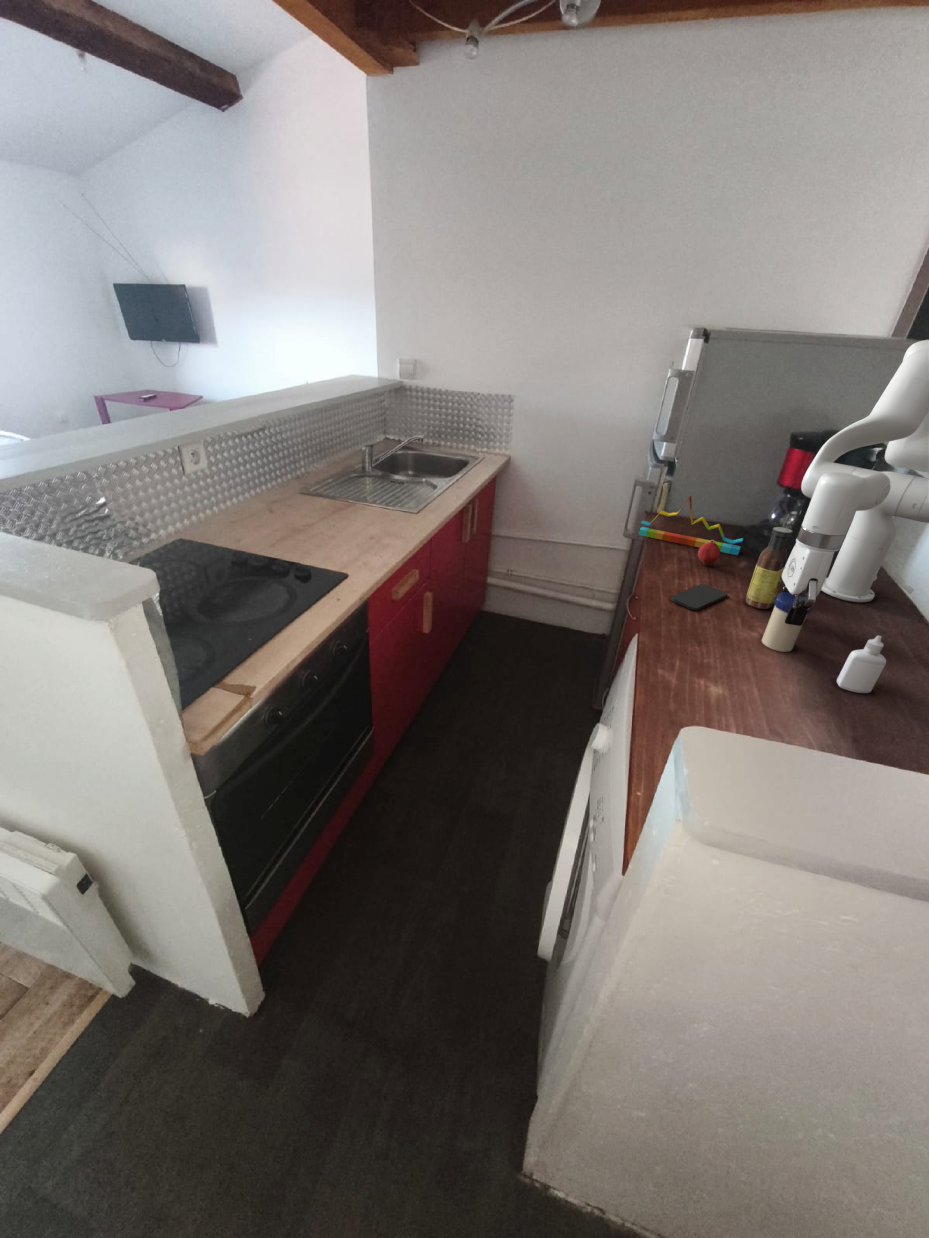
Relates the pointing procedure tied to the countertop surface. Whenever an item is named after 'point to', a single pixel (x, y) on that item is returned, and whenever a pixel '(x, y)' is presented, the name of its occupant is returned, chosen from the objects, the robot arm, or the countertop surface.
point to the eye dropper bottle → (863, 667)
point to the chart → (687, 539)
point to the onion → (709, 552)
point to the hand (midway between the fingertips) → (788, 615)
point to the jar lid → (787, 601)
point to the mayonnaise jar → (780, 632)
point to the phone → (699, 597)
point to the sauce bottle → (769, 570)
